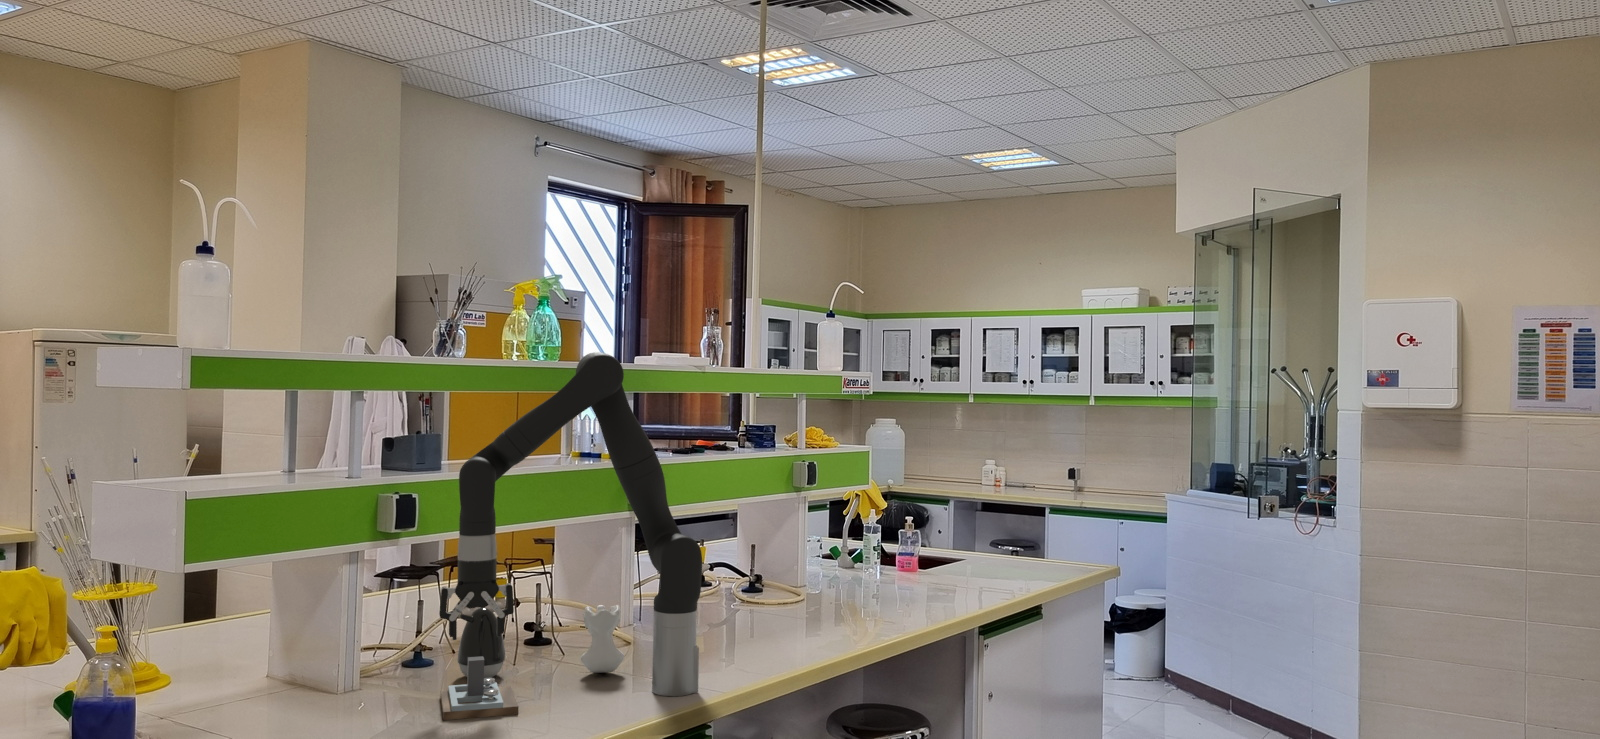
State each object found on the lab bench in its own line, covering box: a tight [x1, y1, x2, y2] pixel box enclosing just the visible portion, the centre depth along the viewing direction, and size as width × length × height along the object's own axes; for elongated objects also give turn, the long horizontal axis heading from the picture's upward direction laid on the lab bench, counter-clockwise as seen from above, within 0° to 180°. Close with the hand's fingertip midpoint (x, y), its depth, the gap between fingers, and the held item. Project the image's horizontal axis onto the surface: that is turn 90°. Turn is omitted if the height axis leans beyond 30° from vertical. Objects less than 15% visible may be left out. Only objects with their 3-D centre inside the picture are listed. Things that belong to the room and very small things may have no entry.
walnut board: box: [439, 677, 520, 721], centre depth 223 cm, size 14×16×4 cm
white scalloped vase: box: [580, 604, 625, 674], centre depth 251 cm, size 10×11×15 cm
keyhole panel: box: [447, 656, 503, 711], centre depth 223 cm, size 10×16×8 cm, turn 20°
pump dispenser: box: [456, 607, 506, 678], centre depth 246 cm, size 10×10×15 cm
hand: (476, 637), depth 223 cm, fingers open, 8 cm apart
